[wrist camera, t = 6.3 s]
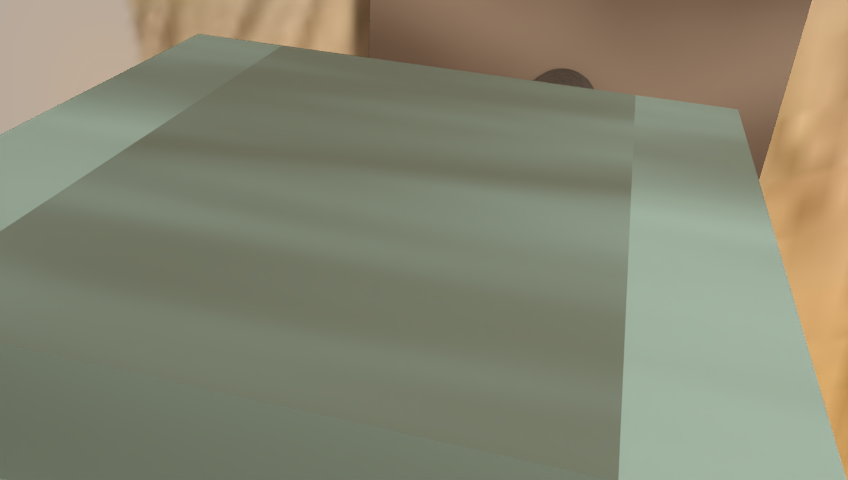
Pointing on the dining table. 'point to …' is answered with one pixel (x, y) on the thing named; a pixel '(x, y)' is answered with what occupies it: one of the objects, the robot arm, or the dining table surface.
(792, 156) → the dining table surface
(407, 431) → the pale green open box
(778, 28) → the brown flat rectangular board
